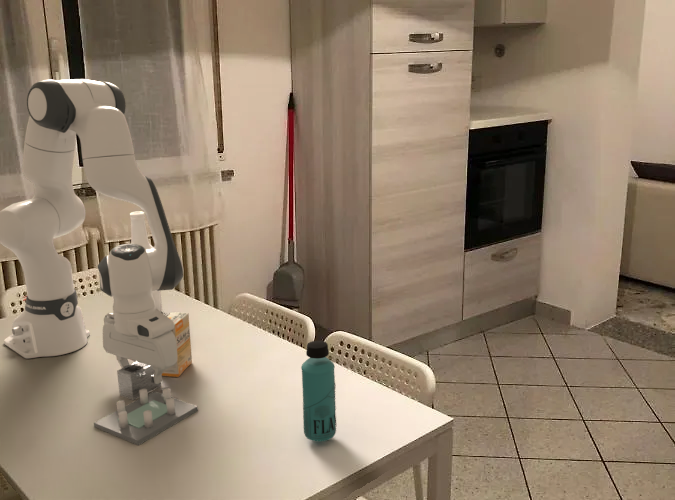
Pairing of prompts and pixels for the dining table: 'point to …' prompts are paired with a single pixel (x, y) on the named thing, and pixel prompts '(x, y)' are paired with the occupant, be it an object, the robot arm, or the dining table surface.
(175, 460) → the dining table surface
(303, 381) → the beverage bottle
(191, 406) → the pin tray
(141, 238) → the alcohol
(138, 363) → the block
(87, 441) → the dining table surface
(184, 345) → the supplement box
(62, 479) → the dining table surface
